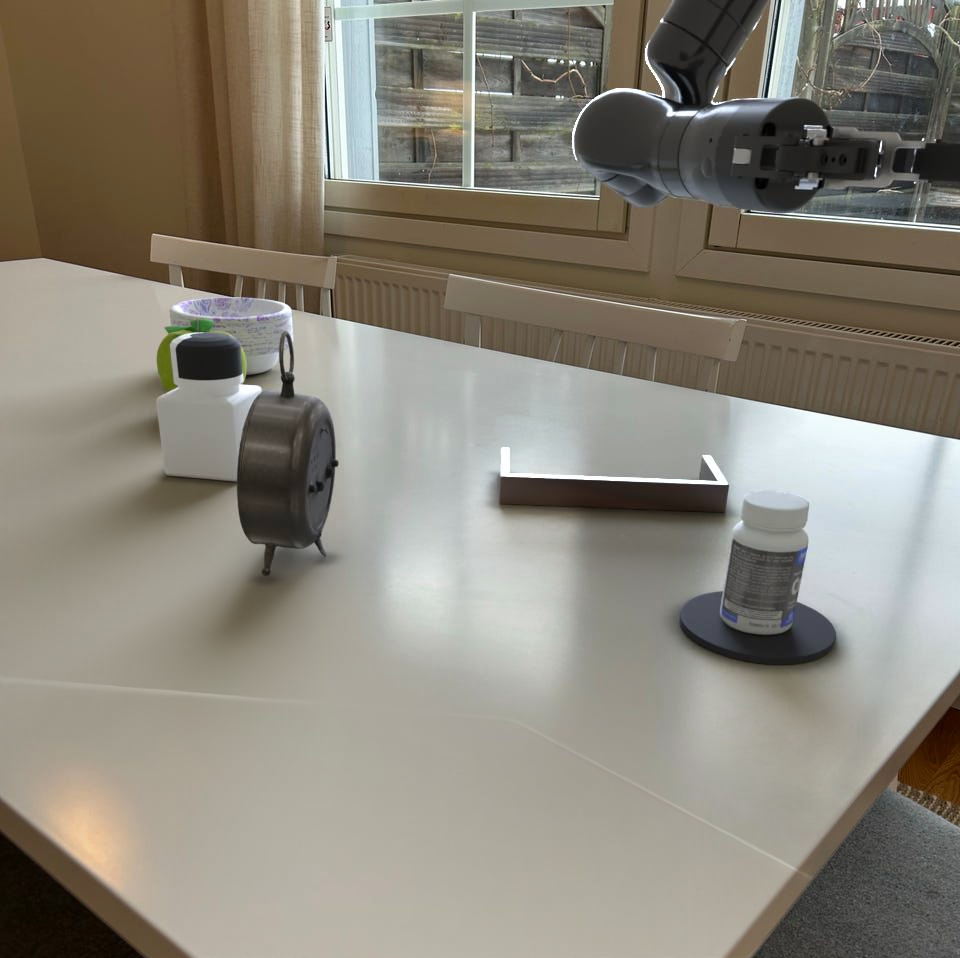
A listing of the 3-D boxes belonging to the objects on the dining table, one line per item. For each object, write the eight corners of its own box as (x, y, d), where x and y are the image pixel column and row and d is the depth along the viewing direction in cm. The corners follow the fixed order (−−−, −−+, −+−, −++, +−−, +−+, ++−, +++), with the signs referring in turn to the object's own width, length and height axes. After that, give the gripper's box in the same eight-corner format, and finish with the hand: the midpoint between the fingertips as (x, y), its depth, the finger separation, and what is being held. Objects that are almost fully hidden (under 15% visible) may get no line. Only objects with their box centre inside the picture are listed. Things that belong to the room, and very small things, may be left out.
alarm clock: (282, 527, 79) (269, 316, 71) (349, 531, 78) (342, 320, 71) (238, 581, 69) (218, 344, 61) (314, 587, 69) (302, 349, 61)
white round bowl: (237, 387, 120) (232, 320, 116) (150, 370, 127) (142, 305, 123) (318, 367, 131) (316, 305, 128) (235, 352, 138) (230, 292, 135)
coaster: (730, 584, 71) (731, 578, 71) (861, 631, 65) (863, 624, 65) (649, 626, 65) (650, 619, 65) (786, 681, 59) (788, 674, 58)
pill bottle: (799, 638, 63) (825, 514, 59) (725, 635, 63) (746, 510, 59) (782, 607, 67) (805, 488, 63) (713, 603, 67) (731, 485, 63)
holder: (499, 473, 93) (500, 447, 92) (707, 481, 93) (710, 455, 92) (499, 503, 85) (500, 476, 84) (725, 512, 85) (729, 485, 84)
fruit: (146, 418, 106) (134, 322, 101) (191, 399, 114) (181, 309, 109) (223, 427, 104) (214, 329, 99) (263, 406, 112) (257, 315, 107)
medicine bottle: (267, 460, 94) (258, 331, 89) (238, 482, 88) (226, 345, 82) (197, 454, 95) (184, 326, 90) (163, 476, 89) (147, 339, 83)
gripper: (681, 94, 69) (850, 87, 56) (833, 102, 75) (1019, 97, 62) (669, 210, 73) (826, 228, 60) (815, 209, 78) (988, 226, 65)
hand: (924, 162), depth 61 cm, fingers open, 8 cm apart
